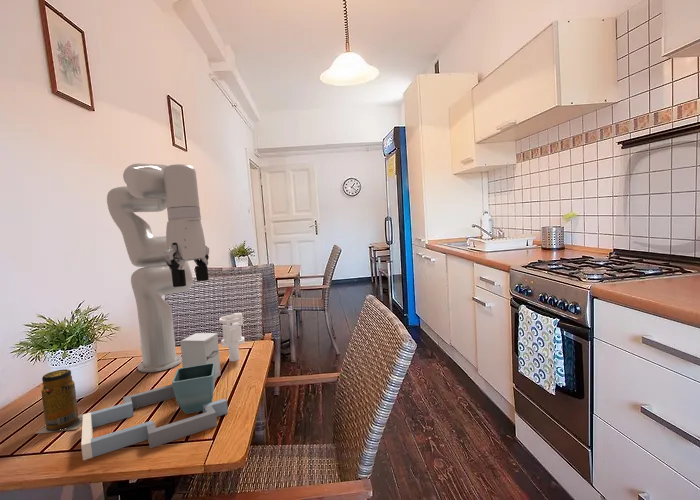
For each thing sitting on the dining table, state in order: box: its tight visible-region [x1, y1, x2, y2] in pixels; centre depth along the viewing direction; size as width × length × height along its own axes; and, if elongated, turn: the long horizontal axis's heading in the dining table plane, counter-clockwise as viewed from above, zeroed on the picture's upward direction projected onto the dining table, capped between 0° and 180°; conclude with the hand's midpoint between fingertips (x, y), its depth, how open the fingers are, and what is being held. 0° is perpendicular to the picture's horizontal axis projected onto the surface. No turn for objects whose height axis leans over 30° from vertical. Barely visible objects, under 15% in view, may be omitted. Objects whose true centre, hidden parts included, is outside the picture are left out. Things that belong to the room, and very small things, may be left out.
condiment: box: [35, 368, 83, 435], centre depth 87 cm, size 7×8×12 cm
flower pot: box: [171, 363, 216, 415], centre depth 91 cm, size 9×9×9 cm
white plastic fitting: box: [219, 312, 245, 362], centre depth 122 cm, size 7×7×15 cm
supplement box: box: [179, 332, 221, 380], centre depth 108 cm, size 7×7×13 cm
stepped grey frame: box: [80, 384, 229, 461], centre depth 87 cm, size 23×28×3 cm
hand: (191, 283), depth 96 cm, fingers open, 9 cm apart
